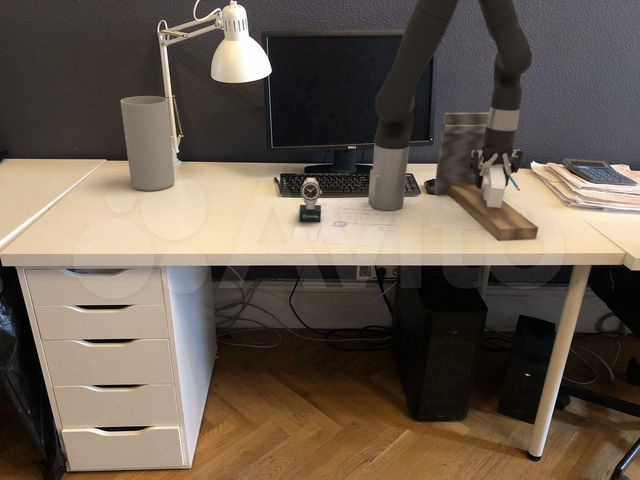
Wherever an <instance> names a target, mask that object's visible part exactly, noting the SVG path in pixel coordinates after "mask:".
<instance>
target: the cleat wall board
mask: <svg viewBox="0 0 640 480" xmlns="http://www.w3.org/2000/svg"><path fill="white" fill-rule="evenodd" d="M488 114H489V111H487V112H443V115H442V116H443V117H442V124H441V125H442V126H441V131H440V132H441V133H440V141H439V150H438V157H437V164H436V165H437V166H436V173H435V181H434V189H433V194H434V195H435V196H449V197H451V198H452V200H454V201H455V202H456V203H457V204H458V205H459V206H460V207H462V208H463V209H464V210H465V211H466V212H467V214H469V215H470V216H471V217H472V218H473V219H474V220H475V221H476V222H477V223H479V224H480V225H481V226H482V227H483V228H484V229H485V230H487V232H489V233H490V234H491V235H492V236H493V237H494V238H495V239H496V240H497V241H513V240H517V241H518V240H530V239H531V240H534V238H536V239H537V236H538V230H539V227H538V226H537V225H536V224H534V223H533V222H532V221H530V220H529V219H528V218H526V217H525V216H524V215H523V214H521V213H520V212H519V211H517V210H516V209H514V207H512V206H511V205H509V204H508V203H507V202H506V201H504V200H502V204H501V208H496V207H487V202H486V200H484V195H483V193H484V189H478V188H477V187H476V185H475V178H476V174H474V173H473V172H472V171H470V151H471V150H472V149H474V150H481V149H482V147H483V145H484V136H485V130H486V122H487V118H488ZM482 157H483V155H482V154H481V155H480V158H479V159H478V166H479V165H480V161H481V160H482Z"/></svg>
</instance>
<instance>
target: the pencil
mask: <svg viewBox="0 0 640 480" xmlns="http://www.w3.org/2000/svg"><path fill="white" fill-rule="evenodd" d="M509 181H511V182H512V185H513V187H515V189H516V190H517V191H521V189H520V186H518V184H517V183H516V182H515V180H514V178H513V177H512V176H511V175H510V176H509Z"/></svg>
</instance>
